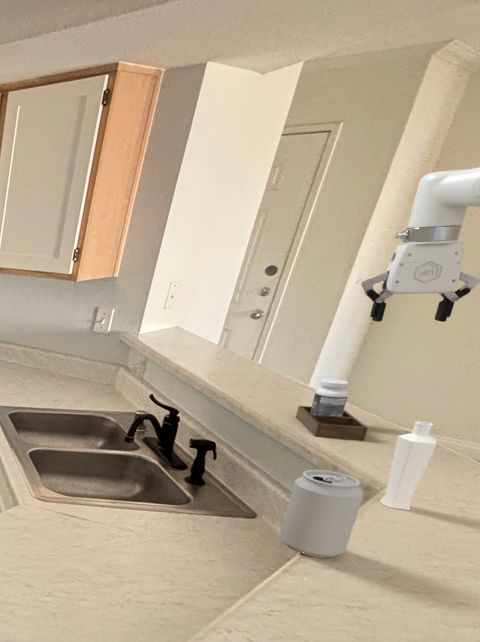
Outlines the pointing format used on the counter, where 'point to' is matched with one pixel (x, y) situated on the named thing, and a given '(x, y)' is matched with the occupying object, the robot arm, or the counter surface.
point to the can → (321, 513)
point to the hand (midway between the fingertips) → (407, 320)
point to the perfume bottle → (408, 465)
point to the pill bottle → (330, 398)
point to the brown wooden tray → (332, 425)
